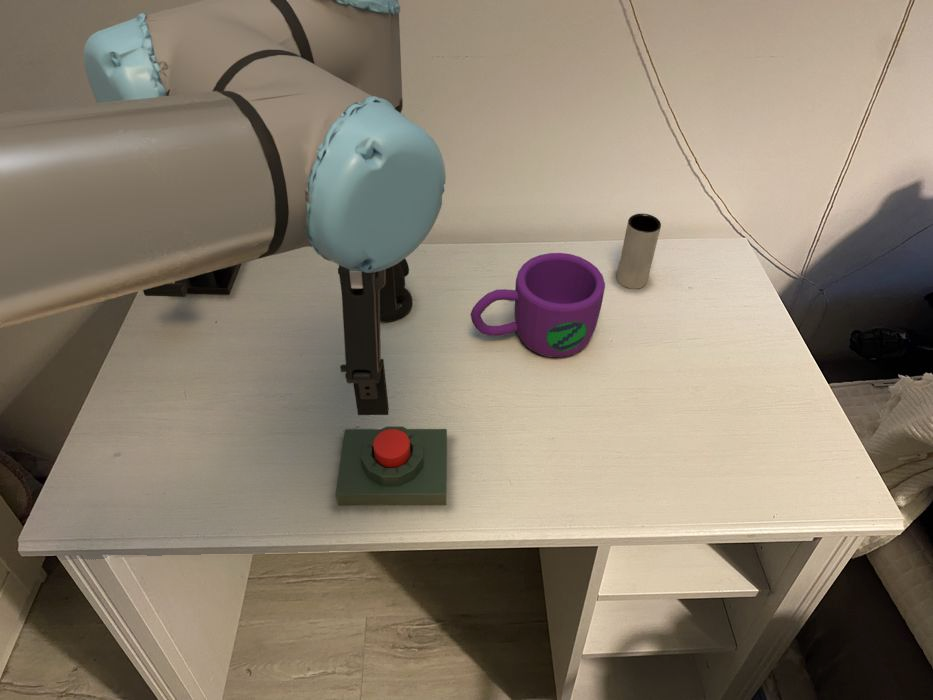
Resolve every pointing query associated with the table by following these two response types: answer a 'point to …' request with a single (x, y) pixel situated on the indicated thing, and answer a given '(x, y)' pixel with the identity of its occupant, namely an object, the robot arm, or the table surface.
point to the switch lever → (167, 290)
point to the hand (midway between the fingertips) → (378, 357)
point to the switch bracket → (212, 281)
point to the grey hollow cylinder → (638, 250)
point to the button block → (393, 470)
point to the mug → (550, 304)
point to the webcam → (399, 293)
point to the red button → (391, 448)
